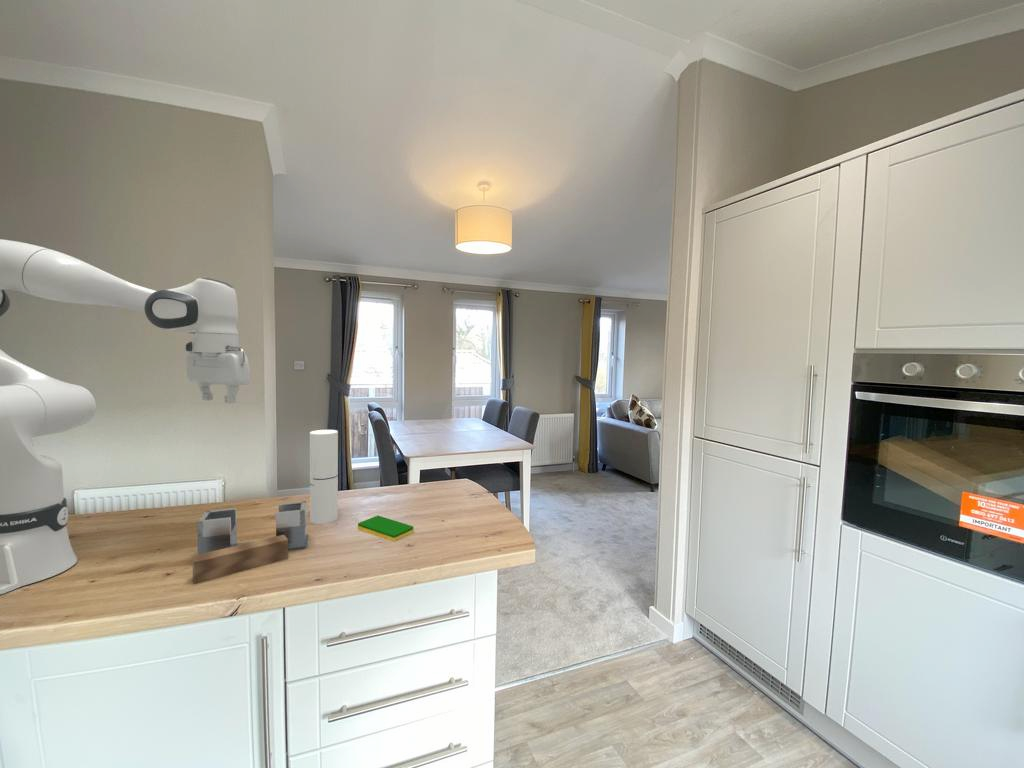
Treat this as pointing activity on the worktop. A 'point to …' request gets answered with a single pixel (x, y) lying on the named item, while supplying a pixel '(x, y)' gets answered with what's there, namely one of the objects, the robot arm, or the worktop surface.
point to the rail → (239, 558)
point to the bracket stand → (222, 533)
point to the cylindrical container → (323, 476)
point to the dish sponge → (385, 528)
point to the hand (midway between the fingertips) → (218, 401)
